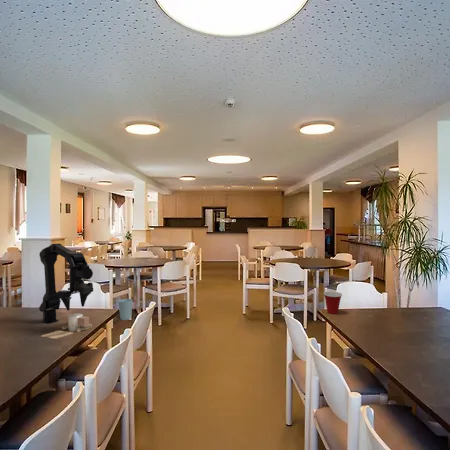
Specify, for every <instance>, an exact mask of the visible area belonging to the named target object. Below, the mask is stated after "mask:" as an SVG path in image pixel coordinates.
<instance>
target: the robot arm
mask: <svg viewBox="0 0 450 450" xmlns="http://www.w3.org/2000/svg"><path fill="white" fill-rule="evenodd" d="M38 254H39V259H40V262H41V264H42V265H43V267H44V283H45V293H44V295H43V297H42V302H41V304H40V305H39V311H40V312H42V320H41V321H40V322H41V323H45V324H51V323H54V322H58V321H59V319H57V310H60V306H61V302H62V303H63V305H64V307H65V309H66V311H70V306H71V299H72V295H74V294H78V293H79V299H80V305H81V307H85V304H86V301H87V299H88V296H89V295H91V294H92V293H93V292H94V284H93V282H86V283H85V280H87V281H88V280H90V279H92V277H93V275H94V272H93V269H92V268H90V265H88V262H87V259H86V257H85V256H84V254H83V253H82V252H79V251H73V250H71V249H69V248H68V247H66V246H64V245H62V244H61V243H52V244H50V245H49V246H46V247H45V248H43V249H42V250H40V252H39V253H38ZM58 256H61V257H62V258H64V259H65V262H66V263H67V264H68V266H67V269H69V279H68V280H67V283H69V287H68V288H67V290H65V289H63V290H59V291H57V290H56V289H57V287H56V272H55V264H56V262H57V260H58Z"/></svg>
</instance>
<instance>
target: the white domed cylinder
mask: <svg viewBox="0 0 450 450" xmlns="http://www.w3.org/2000/svg"><path fill="white" fill-rule="evenodd" d="M67 317H68V318H67V319H68V322H67V325H68V328H67V330H68V332H77V329H78V328H81V327H83V326H84V327H85V326H88V325H89V324H90V317H89V316H84V315H83V313H70V314H68V315H67Z"/></svg>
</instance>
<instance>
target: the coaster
mask: <svg viewBox="0 0 450 450" xmlns="http://www.w3.org/2000/svg"><path fill="white" fill-rule="evenodd" d="M73 334H74V332H73V331H64V330H54V331H51V332H47V333H45V334H42V335H40V337H42V338H45V339H51V340H52V339H53V340H58V339H61V338H65V337H66V336H70V335H73Z"/></svg>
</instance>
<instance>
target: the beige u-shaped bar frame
mask: <svg viewBox="0 0 450 450" xmlns="http://www.w3.org/2000/svg"><path fill="white" fill-rule="evenodd" d="M92 327H93V325H92V324H91V323H89V325H88V326H85V327H84V326H83V327H81V328H78V329H77V331H76V333H80V332H83V331H84V330H85V331H86V330H88V329H91V328H92ZM61 329H62V331H64V330H66V329H67V330H68V324H65V325H61Z"/></svg>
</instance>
